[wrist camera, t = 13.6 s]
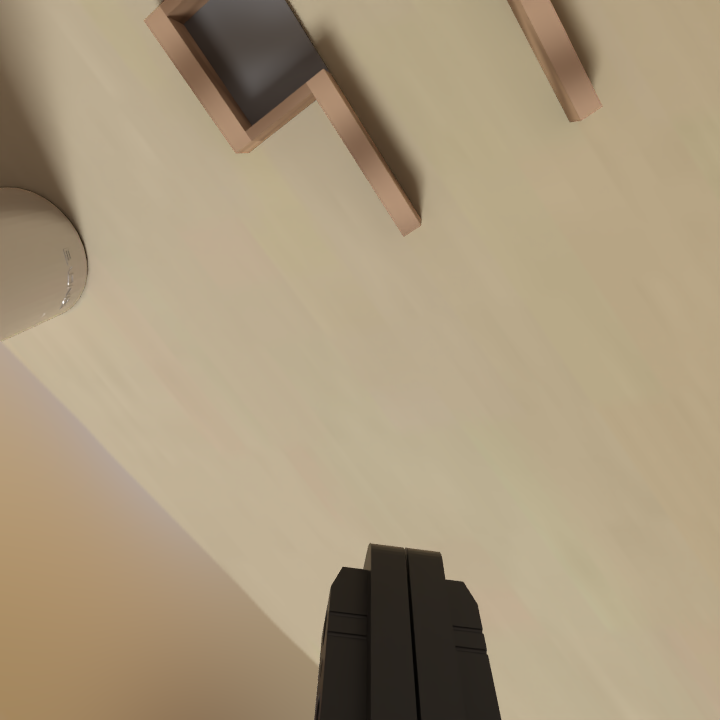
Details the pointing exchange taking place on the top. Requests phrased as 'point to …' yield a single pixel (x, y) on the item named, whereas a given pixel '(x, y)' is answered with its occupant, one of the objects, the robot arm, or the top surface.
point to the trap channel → (318, 76)
